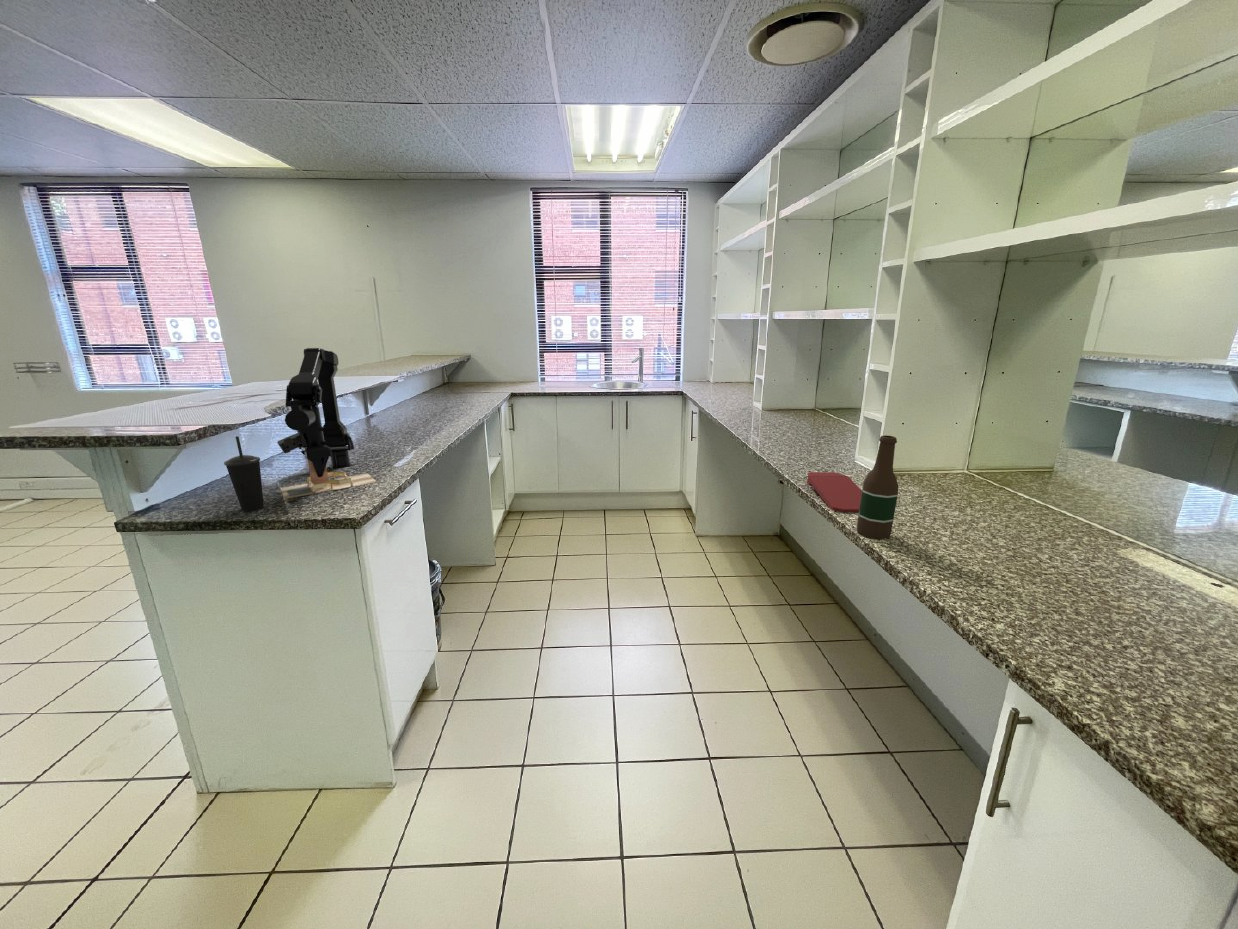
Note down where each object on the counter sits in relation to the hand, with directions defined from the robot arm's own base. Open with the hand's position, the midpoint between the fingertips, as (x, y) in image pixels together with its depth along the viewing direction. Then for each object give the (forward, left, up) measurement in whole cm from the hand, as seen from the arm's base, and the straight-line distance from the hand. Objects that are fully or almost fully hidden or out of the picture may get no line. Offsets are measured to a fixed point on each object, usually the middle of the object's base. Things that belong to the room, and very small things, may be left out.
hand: (318, 475), depth 144 cm
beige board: (-1, +2, -5) cm, 5 cm away
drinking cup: (+6, -17, -5) cm, 19 cm away
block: (0, 0, -2) cm, 2 cm away
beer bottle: (+120, +97, -5) cm, 154 cm away
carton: (+102, +116, -5) cm, 154 cm away
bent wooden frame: (-1, +2, -5) cm, 5 cm away
